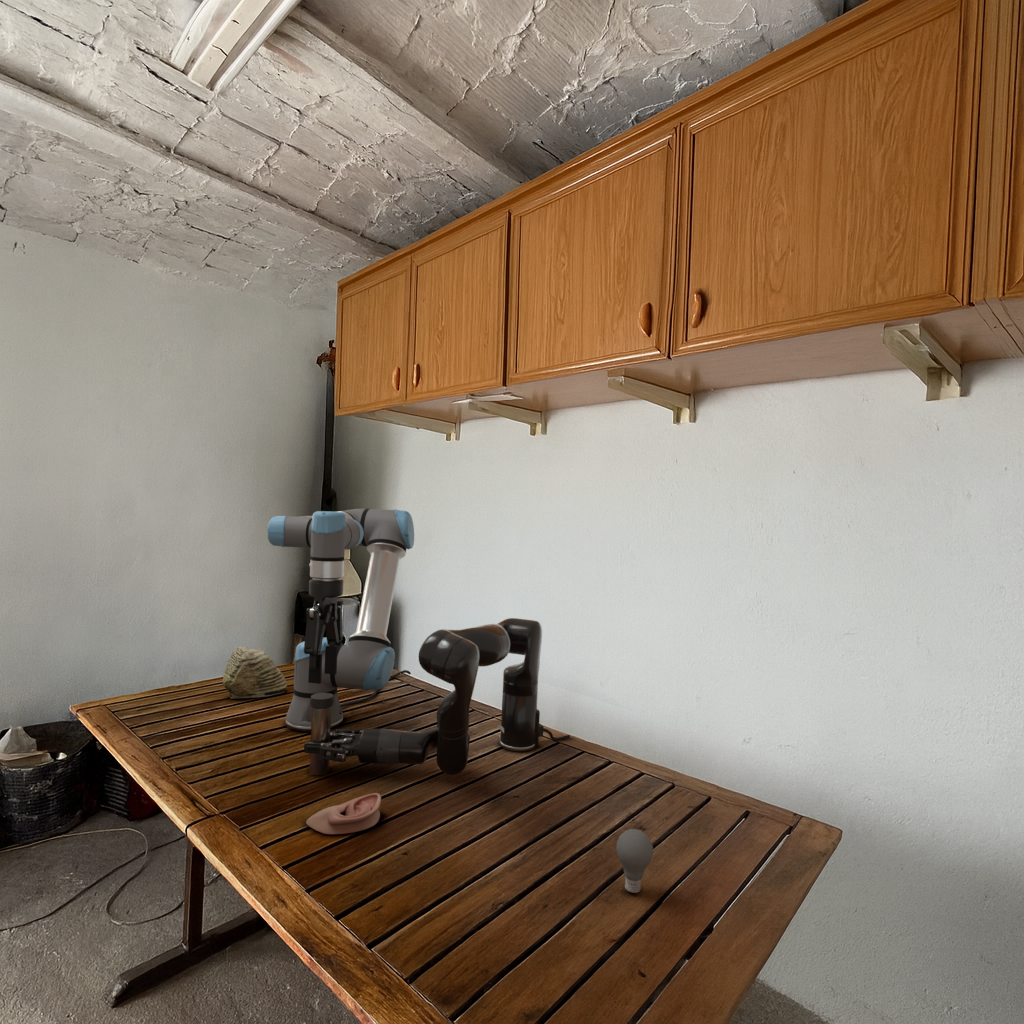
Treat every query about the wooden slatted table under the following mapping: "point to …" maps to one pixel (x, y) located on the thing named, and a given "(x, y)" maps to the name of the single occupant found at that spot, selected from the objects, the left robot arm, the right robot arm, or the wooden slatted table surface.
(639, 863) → the light bulb
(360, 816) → the anatomical model
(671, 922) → the wooden slatted table surface
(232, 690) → the fossil
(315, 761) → the dark brown cylindrical piece
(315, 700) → the lid
